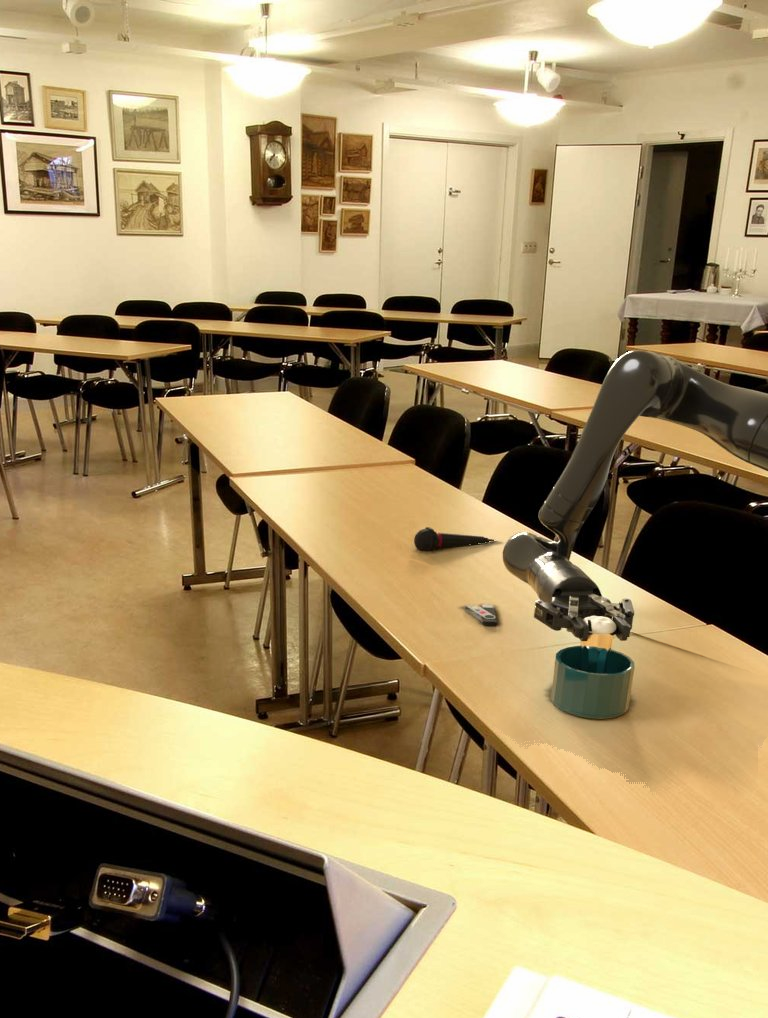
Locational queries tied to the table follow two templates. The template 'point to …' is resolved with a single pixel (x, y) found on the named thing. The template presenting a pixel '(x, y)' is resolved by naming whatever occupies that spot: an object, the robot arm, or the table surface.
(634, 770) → the table surface
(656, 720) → the table surface
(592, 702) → the bowl
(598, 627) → the milkshake
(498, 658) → the table surface
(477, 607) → the usb flash drive
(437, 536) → the microphone
